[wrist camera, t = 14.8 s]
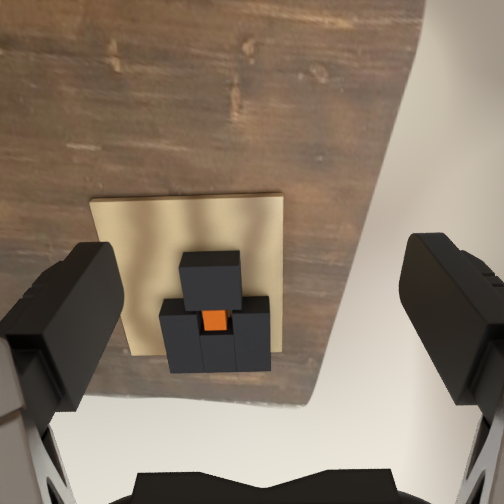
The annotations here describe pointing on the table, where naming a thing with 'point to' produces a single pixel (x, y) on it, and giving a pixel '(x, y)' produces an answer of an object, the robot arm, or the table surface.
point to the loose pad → (211, 285)
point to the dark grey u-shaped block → (217, 338)
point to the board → (189, 240)
